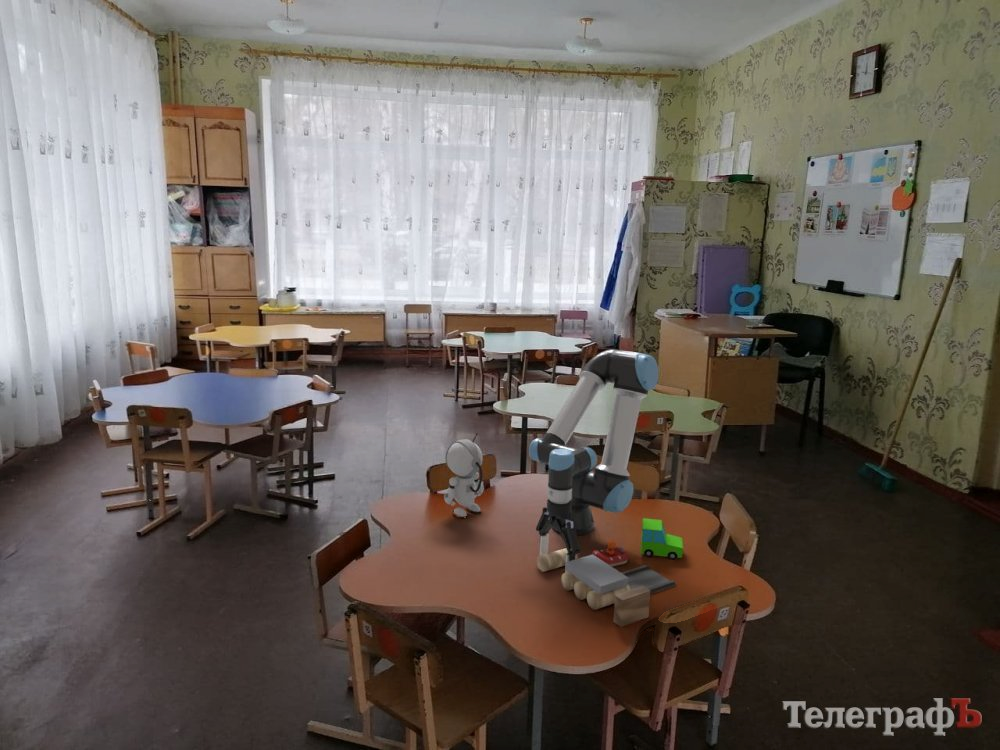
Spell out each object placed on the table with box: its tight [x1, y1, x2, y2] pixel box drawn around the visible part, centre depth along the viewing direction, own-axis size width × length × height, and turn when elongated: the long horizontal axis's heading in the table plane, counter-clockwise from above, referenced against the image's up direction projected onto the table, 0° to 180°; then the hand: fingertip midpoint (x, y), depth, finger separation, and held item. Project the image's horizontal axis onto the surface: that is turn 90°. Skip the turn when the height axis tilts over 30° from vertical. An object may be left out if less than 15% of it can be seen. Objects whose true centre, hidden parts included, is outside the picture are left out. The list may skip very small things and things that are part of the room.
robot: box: [443, 432, 484, 517], centre depth 258 cm, size 14×13×29 cm
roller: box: [536, 547, 578, 573], centre depth 222 cm, size 12×5×5 cm, turn 122°
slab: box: [565, 554, 628, 595], centre depth 205 cm, size 16×10×2 cm, turn 32°
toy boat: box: [591, 539, 629, 568], centre depth 224 cm, size 8×12×8 cm, turn 114°
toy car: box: [640, 517, 684, 561], centre depth 231 cm, size 10×13×10 cm
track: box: [561, 564, 677, 628], centre depth 206 cm, size 26×30×8 cm
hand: (556, 563), depth 222 cm, fingers open, 13 cm apart
